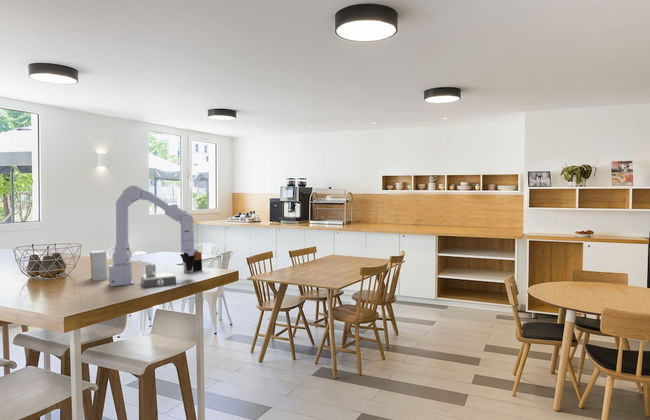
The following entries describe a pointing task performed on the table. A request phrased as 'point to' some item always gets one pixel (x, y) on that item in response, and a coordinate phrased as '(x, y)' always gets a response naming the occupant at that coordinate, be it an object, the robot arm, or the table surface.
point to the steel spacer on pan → (150, 270)
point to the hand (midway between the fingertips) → (188, 269)
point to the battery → (197, 261)
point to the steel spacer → (186, 269)
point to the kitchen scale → (158, 280)
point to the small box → (98, 265)
